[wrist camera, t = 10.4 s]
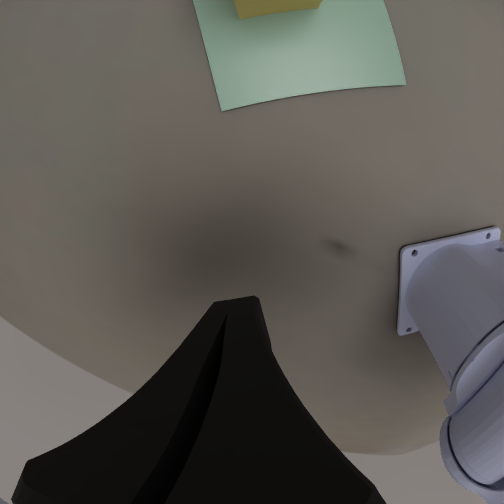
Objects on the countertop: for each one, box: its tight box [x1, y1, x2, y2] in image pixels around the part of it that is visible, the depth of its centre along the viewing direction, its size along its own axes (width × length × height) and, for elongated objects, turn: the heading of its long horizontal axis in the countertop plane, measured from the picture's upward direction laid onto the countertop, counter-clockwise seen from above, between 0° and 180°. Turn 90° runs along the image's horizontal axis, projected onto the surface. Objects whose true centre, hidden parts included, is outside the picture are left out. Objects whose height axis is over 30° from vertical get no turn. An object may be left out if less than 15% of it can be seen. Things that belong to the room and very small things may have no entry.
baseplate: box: [193, 0, 406, 111], centre depth 12 cm, size 11×11×1 cm
